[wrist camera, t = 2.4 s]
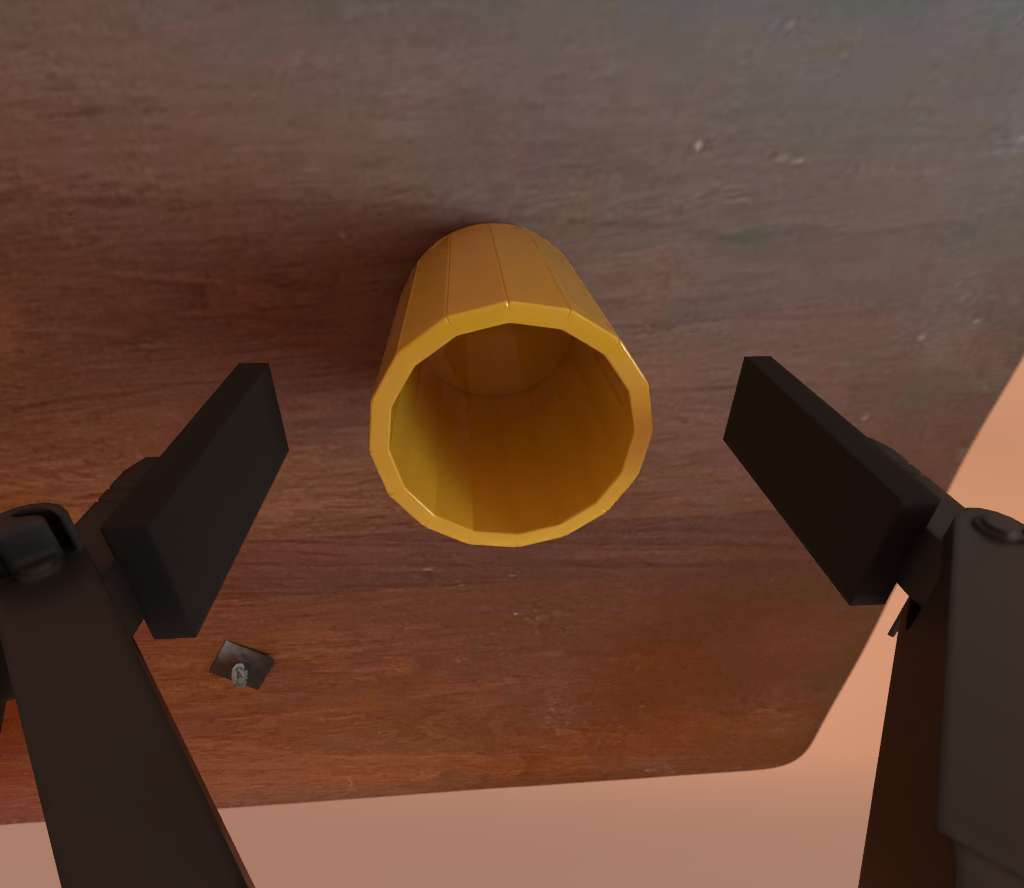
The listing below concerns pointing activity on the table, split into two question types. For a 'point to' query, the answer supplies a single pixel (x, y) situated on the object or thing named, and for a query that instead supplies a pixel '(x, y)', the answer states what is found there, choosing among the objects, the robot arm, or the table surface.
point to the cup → (505, 394)
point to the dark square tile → (242, 665)
